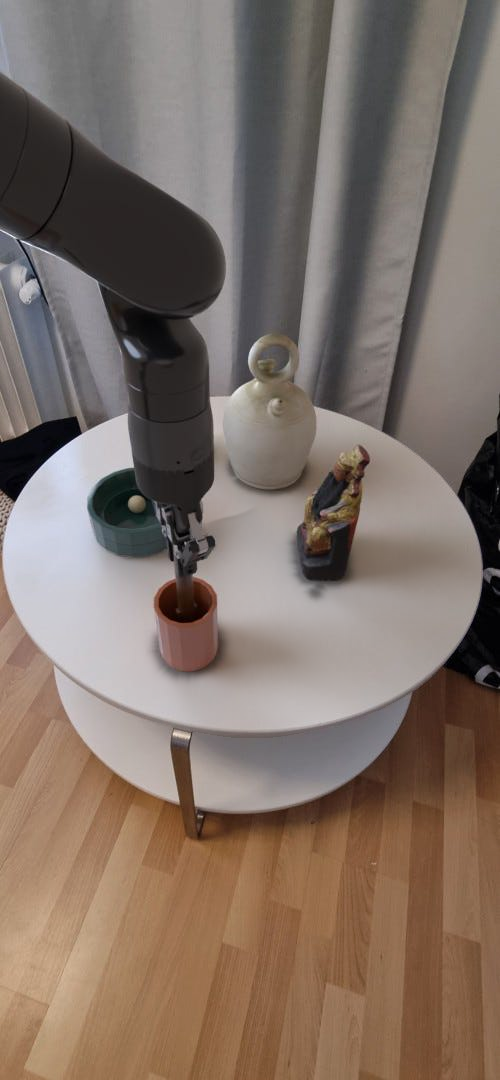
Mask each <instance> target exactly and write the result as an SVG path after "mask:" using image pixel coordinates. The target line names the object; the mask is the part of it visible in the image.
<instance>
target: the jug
mask: <svg viewBox="0 0 500 1080" xmlns="http://www.w3.org/2000/svg"><path fill="white" fill-rule="evenodd" d="M273 346H279V347H281V348H284V349H285V350H286V351H287V352H288V354H289V357H288V358H289V359H288V362H287V364H286V366H285V367H283V368H282V369H280V370H278V371H274V369H275V368H274V366H275V363H276V360H275V359H274V358H272V359H271V358H268V359H260V356H261V355H262V353H263V352H264V351H265V350H266V349H267V350H268V348H270V347H273ZM247 363H248V368H249V371H250V373H251V374H252V376H253V379H251V380H250V381H247V382H245V383H244V384H242V385H240V386H239V387H238V388H237V389H236V390H235V391H234V392H233V393H232V395H231V396H230V398H229V399H228V401H227V403H226V405H225V409H224V411H223V416H222V430H223V436H224V441H225V445H226V450H227V454H228V459H229V462H230V464H231V465H230V466H231V467H232V470H233V472H234V474H235V476H236V477H237V478H238V479H239V480H240V481H241V482H242V483H243V484H246V485H248V486H249V487H252V488H255V489H259V490H262V491H275V490H282V489H285V488H287V487H290V486H292V485H293V484H295V483H296V482H297V481H298V480H299V478H300V477H301V475H302V473H303V471H304V468H305V466H306V464H307V461H308V458H309V456H310V453H311V451H312V447H313V444H314V441H315V438H316V434H317V415H316V409H315V406H314V404H313V402H312V400H311V398H310V396H309V394H307V392H306V391H305V390H304V389H302V387H300V386H299V385H297V384H295V383H294V382H292V381H290V379H291V378H293V377H294V375H295V374H296V372H297V371H298V368H299V365H300V353H299V349H298V347H297V345H296V343H295V342H294V341H293V340H292V339H291V338H289V337H288V336H287V335H285V334H283V333H282V334H281V333H278V332H273V333H267V334H265V335H263V336H261V337H260V338H259V339H257V341H255V342H254V343H253V345H252V346H251V348H250V350H249V353H248V358H247Z"/></svg>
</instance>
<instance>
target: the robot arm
mask: <svg viewBox="0 0 500 1080" xmlns="http://www.w3.org/2000/svg"><path fill="white" fill-rule="evenodd" d="M0 231H1V232H3V233H5V234H7V235H8V236H10V237H12V238H14V239H17V240H19V241H20V242H21V243H25V244H27V245H29V246H31V247H33V248H36V249H39V250H41V251H43V252H45V253H47V254H49V255H51V256H55V257H56V258H58V259H60V260H62V261H64V262H66V263H68V264H69V265H71V266H73V267H74V268H76V269H77V270H79V271H80V272H81V273H83V274H84V275H86V276H88V277H89V278H91V279H93V280H94V281H95V282H96V283H97V287H98V289H99V294H100V297H101V300H102V302H103V305H104V308H105V311H106V314H107V318H108V322H109V325H110V327H111V330H112V332H113V335H114V338H115V340H116V342H117V345H118V348H119V351H120V356H121V364H122V365H121V366H122V374H123V375H122V376H123V381H124V382H123V383H124V388H125V394H126V402H127V429H128V436H129V443H130V449H131V457H132V463H133V468H134V471H135V478H136V483H137V486H138V488H139V490H140V491H141V492H142V493H143V494H144V495H145V496H146V497H147V498H149V499H151V500H152V503H153V507H154V511H155V514H156V515H155V517H156V519H157V520H158V522H160V524H161V525H162V533H163V534H164V536H165V537H166V544H167V549H166V554H167V558H168V560H169V561H170V562H172V563H174V556H173V545H174V551H175V552H174V554H175V561H176V571H177V574H178V575H179V577H180V578H183V577H186V576H189V575H192V574H193V575H195V574H197V572H198V562H200V561H204V560H207V559H208V557H209V556H210V555H211V553H212V552H213V550H214V549H215V548H216V547H217V545H216V539H215V537H214V536H213V535H212V534H209V533H205V534H204V530H203V519H204V517H203V514H204V504H203V498H204V497H205V496H206V494H207V493H208V492H210V490H211V488H212V487H213V485H214V481H215V435H214V434H215V431H214V427H215V426H214V415H213V410H212V405H211V391H210V389H211V386H210V357H209V350H208V347H207V343H206V340H205V339H204V337H203V335H202V334H201V332H200V331H199V330H198V329H197V328H196V326H195V325H194V323H193V322H192V320H191V318H194V317H196V316H198V315H201V314H202V313H204V312H206V311H207V310H208V309H209V308H210V307H212V305H213V304H214V303H216V301H217V299H218V297H219V296H220V294H221V292H222V290H223V287H224V284H225V279H226V275H227V274H226V272H227V271H226V270H227V262H226V255H225V251H224V246H223V245H222V242H221V239H220V238H219V236H218V235H219V234H218V233H217V232H216V231H215V229H214V227H213V226H212V225H211V224H210V223H209V222H208V221H207V220H206V218H204V217H203V216H201V215H200V214H199V213H198V212H197V211H195V210H193V209H192V208H190V207H189V206H187V205H186V204H185V203H183V202H181V201H180V200H178V199H177V198H175V197H174V196H172V195H170V194H169V193H168V192H166V191H164V190H163V189H161V188H159V187H158V186H156V185H155V184H153V183H152V182H150V181H148V180H147V179H145V178H144V177H142V176H140V175H139V174H137V173H136V172H134V171H133V170H131V169H129V168H128V167H126V166H124V165H123V164H121V163H119V162H118V161H116V160H115V159H113V158H112V157H111V156H109V155H108V154H107V153H106V152H105V151H104V150H102V149H101V148H100V147H99V146H97V145H96V144H95V143H94V142H93V141H92V140H90V139H89V138H88V137H87V136H86V135H85V134H84V133H83V132H81V130H79V129H78V128H77V127H76V126H75V125H73V124H72V123H71V122H69V121H68V120H67V119H66V118H64V117H62V116H61V115H60V114H59V113H58V112H56V111H55V110H54V109H52V108H50V106H48V105H47V104H45V103H44V102H42V101H41V100H40V99H38V98H37V97H36V96H34V95H33V94H32V93H31V92H29V91H28V90H26V89H25V88H23V87H22V86H21V85H20V84H18V83H17V82H15V81H14V80H12V79H11V78H10V77H8V76H7V75H6V74H5V73H3V72H2V71H0ZM183 542H184V543H185V544H184V545H181V544H182V543H183ZM172 544H173V545H172Z"/></svg>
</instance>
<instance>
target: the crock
mask: <svg viewBox="0 0 500 1080" xmlns="http://www.w3.org/2000/svg"><path fill="white" fill-rule="evenodd" d="M193 587H194V602H195V603H196V605H197V608H198V620H197V621H194V622H192V623H178V622H177V620H176V608H178V600H177V589H176V578H172V579H170V580H168V581H166V582H165V583H163V585H161V586H160V587H159V588H158V589H157V592H156V593H155V595H154V597H153V613H154V619H155V626H156V630H157V631H156V633H157V640H158V647H159V651H160V654H161V658H162V659H163V661H164V662H165V663H166V664H167V665H168V666H169V667H171V668H172V669H174V670H177V671H180V672H194V671H198V670H202V669H203V668H206V667H207V666H208V665H209V664H211V662H212V661H213V660H214V659H215V657H216V656H217V652H218V650H219V649H218V648H219V633H218V632H219V626H218V625H219V623H218V621H219V620H218V619H219V618H218V617H219V616H218V595H217V593H216V591H215V589H214V587H213V585H212V584H210V583H208V582H207V581H205V580H204V579H202V578H198V577H195V576H193Z"/></svg>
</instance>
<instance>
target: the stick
mask: <svg viewBox="0 0 500 1080" xmlns="http://www.w3.org/2000/svg"><path fill="white" fill-rule="evenodd" d="M184 544H185V543H184V542H183V543H182V544H181V545H184ZM172 545H173V544H172ZM174 552H175V551H174V545H173V556H174V562H173V565H174V567H173V568H174V575H175V576H174V577H175V578H176V589H177V600H178V608H176V620H177V622H178V623H192V622H194V621H197V620H198V608H197V605H196V603H195V602H194V587H193V577H194V574H192V575H189V576H186V577H183V578H180V577H179V575H178V574H177V571H176V561H175V554H174ZM175 578H174V579H175Z"/></svg>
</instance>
